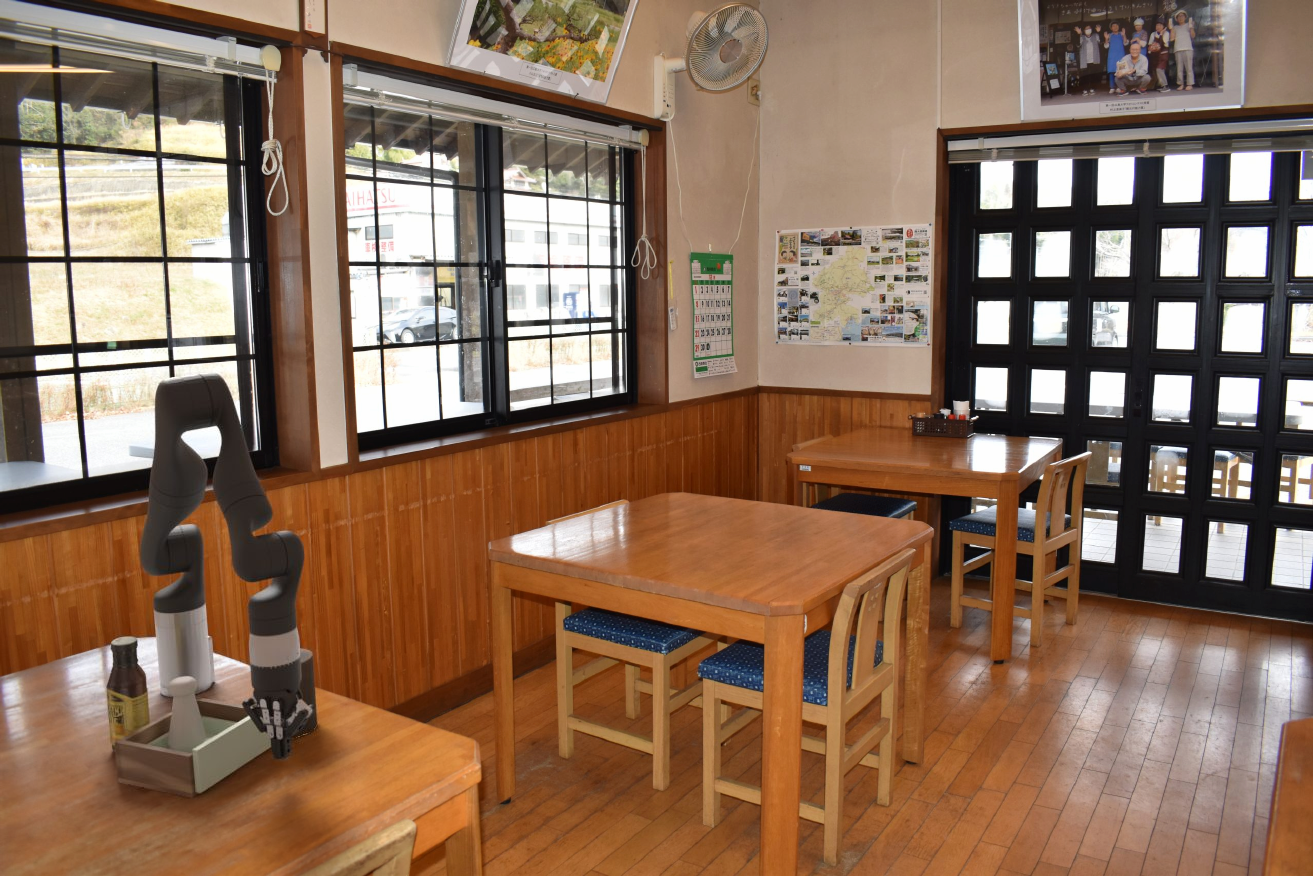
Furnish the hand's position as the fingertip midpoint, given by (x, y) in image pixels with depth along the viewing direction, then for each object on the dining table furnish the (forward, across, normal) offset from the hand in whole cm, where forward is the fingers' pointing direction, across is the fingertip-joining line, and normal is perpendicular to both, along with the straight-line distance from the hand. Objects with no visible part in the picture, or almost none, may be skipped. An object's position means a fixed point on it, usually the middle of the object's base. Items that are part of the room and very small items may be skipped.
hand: (281, 757), depth 159 cm
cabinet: (+4, +18, 0) cm, 18 cm away
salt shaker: (+2, +20, 0) cm, 20 cm away
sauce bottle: (+4, +33, -1) cm, 33 cm away
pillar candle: (+4, +12, -16) cm, 21 cm away
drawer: (+3, +17, 0) cm, 17 cm away
